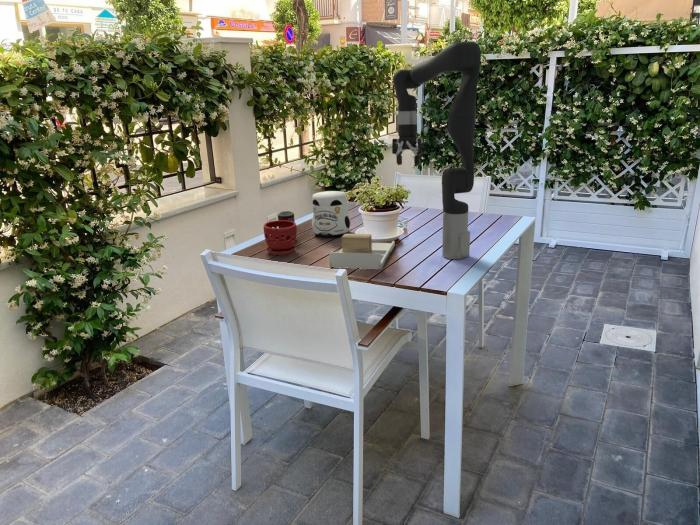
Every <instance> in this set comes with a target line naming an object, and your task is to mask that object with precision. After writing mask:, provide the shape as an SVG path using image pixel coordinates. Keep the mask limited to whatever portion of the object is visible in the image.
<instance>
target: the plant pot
mask: <svg viewBox="0 0 700 525" xmlns="http://www.w3.org/2000/svg"><path fill="white" fill-rule="evenodd" d="M281 226H285V228H281ZM297 227H298V226H297V223H296V222H292V221H286V220H278V219H277V220H271V221H268V222H265V223H264V224H263V235H264V240H265V243H266V245H267V247H266V251H267V253H268V254H271V255H273V256H274V255H275V256H284V255H285V254H286V255H289V254H292V253H293V252H294V251H295V250H296V246H295V243H296V241H297V240H296V239H297Z"/></svg>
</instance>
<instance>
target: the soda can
mask: <svg viewBox="0 0 700 525" xmlns="http://www.w3.org/2000/svg"><path fill="white" fill-rule="evenodd" d="M277 220H286V221H292V222H295V213H294V212H293V211H290V210H289V211H287V210H286V211H280V212H278V214H277ZM295 223H296V222H295ZM281 228H285V226H281Z"/></svg>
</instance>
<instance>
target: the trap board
mask: <svg viewBox="0 0 700 525" xmlns="http://www.w3.org/2000/svg"><path fill="white" fill-rule="evenodd" d="M395 242H396V241H395V240H392V241H391V242H372V253H347V252H342V248H341V249H340V250H339V251H329V252H328V254H329V268H330V267H341V268H340V269H343V268H344V267H348V268H361V269H360V270H366V269H380V270H379V271H381V270H382V269H383V267H384V265H385V264H386V262H387V260H388V259H389V256H391V255H390V254H391V253H392V251H393V250H394V249H395V248H394V247H395V246H396V245H395Z"/></svg>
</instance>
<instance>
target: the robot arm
mask: <svg viewBox="0 0 700 525" xmlns="http://www.w3.org/2000/svg"><path fill="white" fill-rule="evenodd" d="M481 52H482V51H481V47H480V46H479V44H478V43H476V42H474V41H457V42H453V43H450V44H449V45H447V47H445V48H444V49H442V50H441V51H440V52H438V53H437V54H436V55H434V56H432V57H431V58H429V59H427V60H424V61H422V62H420V63H417V64H416V65H414V66H413V67H412V68H411V69H398V70H397V71H395V73H394V75H393V78H392V79H393V80H392V81H393V88H394V90H395V94H396V97H397V102H398V106H397V108H398V109H397V110H398V114H397V133H398V134H397V136H398V138H393V139H392V141H391V145H392V147H391V153H392V154H393V155H395V156H396V158H395V159H396V165H398V166H401V165H403V155H402V154H403V153H404V151H406V150H408V151H409V150H410V151H411V152H412V153H413V155H414V157H413V159H414V160H413V161H414V162H413V164H414V166H420V165H421V156H422V155H423V154H425V139H424V138H423V137H421V138H417V135H418V114H417V113H418V112H417V97H416V96H415V95H412V94H410V93H409V92H408V91H409V90H413V89H417V88H420V87H421V86H422V85H423V84H425V83H427V82H429V81H433V80H434V79H435V78H437V76H439V75H440V74H441V73H446V72H458V73H459V72H460V73H461V78H460V81H461V82H460V86H459V89H458V91H457V93H456V95H455V97H454V99H453V101H452V103H451V105H450V108H449V110H448V119H447V122H448V123H447V131H448V134H449V136H450V138H451V140H452V141H453V142H452V143H454V145H455V147H456V149H457V150H458V152H459V155H460V158H461V167H453V168H445V169H444V170H443V172H442V175H441V195H442V196H441V197H442V198H441V199H442V200H441V201H442V250H441V251H442V257H443V258H445V259H448V260H449V259H450V260H463V259H465V258H467V257H469V256H470V251H471V250H470V246H471V245H470V244H471V242H470V240H471V231H468V230H469V204H468V203H467V202H464V201H462V200H458V199H456V197H455V194H465V193H466V194H467V193H470V192H471V191H472V190H473V188H474V184H475V164H474V161H475V160H474V147H475V146H474V142H475V128H476V103H477V93H478V92H477V91H478V82H479V75H480V69H481V68H480V67H481V60H482V59H481V58H482V56H481V54H482V53H481Z"/></svg>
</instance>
